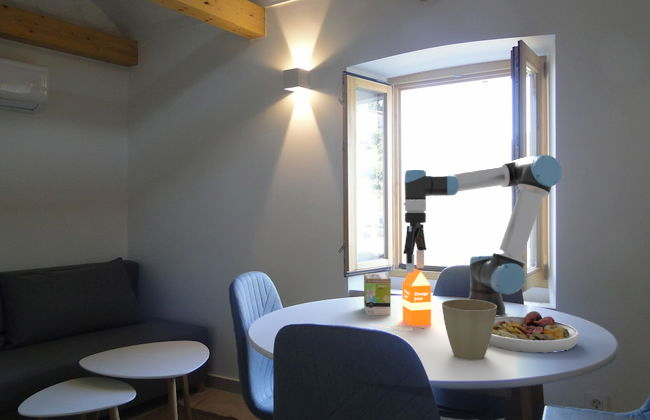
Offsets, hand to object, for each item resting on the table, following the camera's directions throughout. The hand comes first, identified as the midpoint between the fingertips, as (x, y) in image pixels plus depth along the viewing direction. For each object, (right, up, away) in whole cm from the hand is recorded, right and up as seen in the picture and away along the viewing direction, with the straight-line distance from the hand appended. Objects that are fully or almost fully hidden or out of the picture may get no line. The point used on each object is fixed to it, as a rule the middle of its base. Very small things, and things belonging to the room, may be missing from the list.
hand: (415, 270), depth 187 cm
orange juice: (+1, -20, +1) cm, 20 cm away
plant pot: (+8, -21, -43) cm, 48 cm away
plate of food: (+30, -20, -26) cm, 45 cm away
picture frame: (-13, -20, -12) cm, 27 cm away
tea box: (-12, -20, +21) cm, 31 cm away
